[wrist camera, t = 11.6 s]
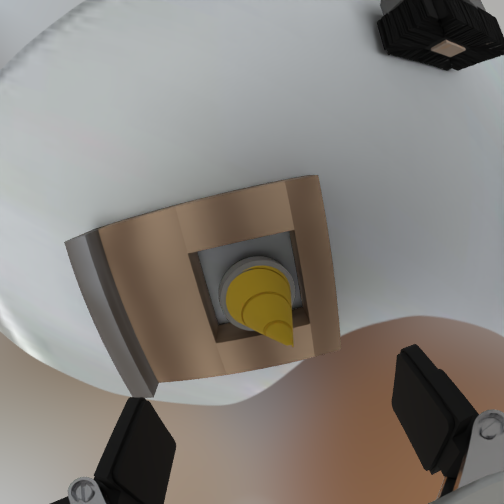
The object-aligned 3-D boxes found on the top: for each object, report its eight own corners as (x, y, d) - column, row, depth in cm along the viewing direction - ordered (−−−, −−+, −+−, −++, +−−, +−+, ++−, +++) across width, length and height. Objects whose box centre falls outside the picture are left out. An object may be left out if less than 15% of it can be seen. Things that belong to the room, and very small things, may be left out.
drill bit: (213, 247, 21) (239, 303, 12) (279, 245, 23) (346, 292, 13) (214, 310, 23) (239, 393, 13) (276, 305, 24) (330, 375, 15)
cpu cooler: (442, 32, 17) (499, 2, 7) (454, 77, 18) (521, 56, 8) (359, 8, 17) (407, -48, 7) (372, 56, 18) (435, 7, 8)
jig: (307, 175, 21) (326, 175, 16) (331, 331, 24) (348, 363, 20) (95, 228, 21) (64, 241, 16) (148, 365, 25) (133, 398, 20)
